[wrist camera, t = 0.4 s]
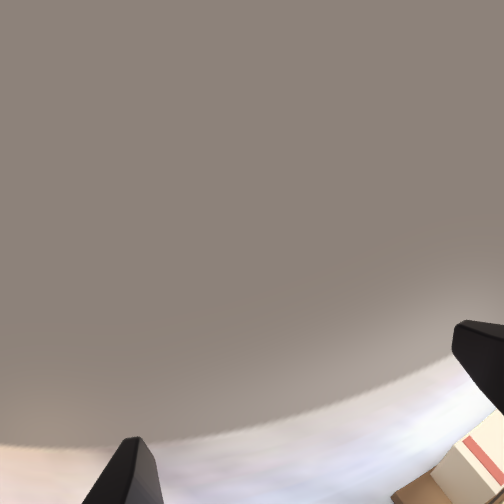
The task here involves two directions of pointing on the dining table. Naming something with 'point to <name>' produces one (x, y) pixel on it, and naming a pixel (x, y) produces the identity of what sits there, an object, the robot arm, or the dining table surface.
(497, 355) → the robot arm
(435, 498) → the board
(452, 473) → the stub
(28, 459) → the dining table surface
